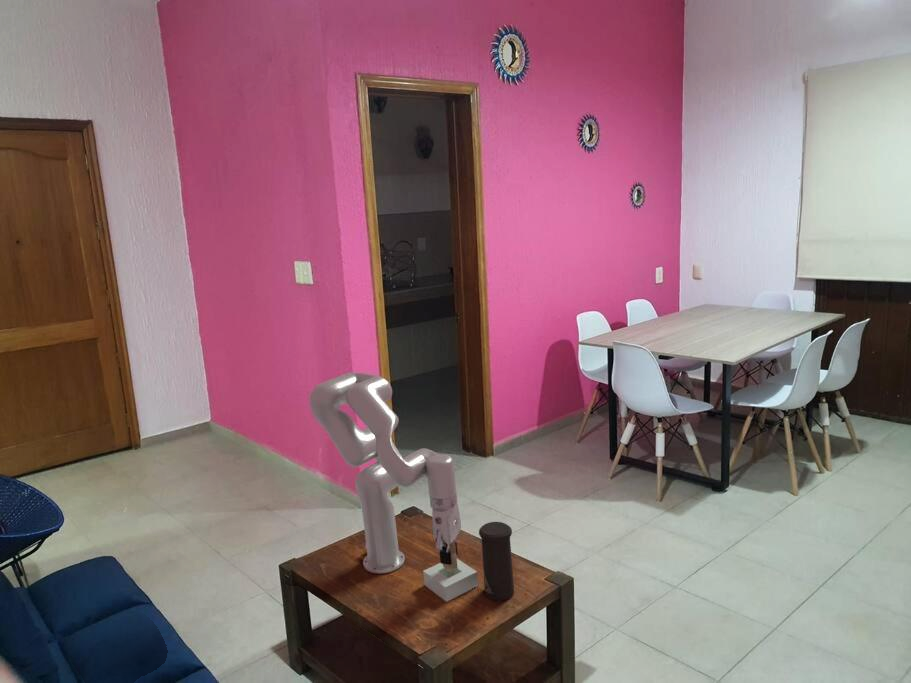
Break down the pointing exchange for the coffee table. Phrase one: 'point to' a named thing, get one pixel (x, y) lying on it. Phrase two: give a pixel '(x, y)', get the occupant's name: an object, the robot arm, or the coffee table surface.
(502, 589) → the container
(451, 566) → the birch stick
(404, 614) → the coffee table surface
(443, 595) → the grey square socket block
